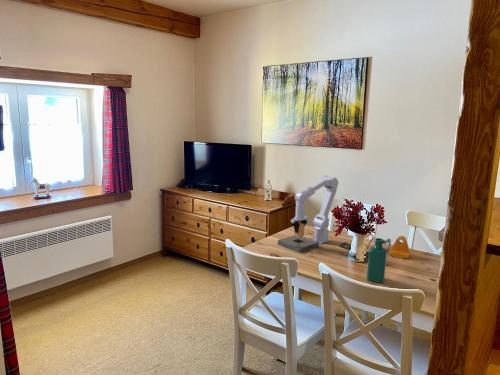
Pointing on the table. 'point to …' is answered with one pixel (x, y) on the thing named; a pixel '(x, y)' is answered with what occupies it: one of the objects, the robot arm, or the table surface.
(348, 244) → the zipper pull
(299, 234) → the tan square post
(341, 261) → the table surface
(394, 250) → the orange handbag
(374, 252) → the pitcher
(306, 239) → the collar
